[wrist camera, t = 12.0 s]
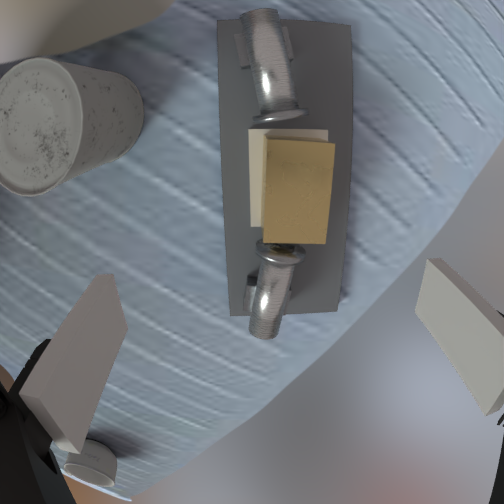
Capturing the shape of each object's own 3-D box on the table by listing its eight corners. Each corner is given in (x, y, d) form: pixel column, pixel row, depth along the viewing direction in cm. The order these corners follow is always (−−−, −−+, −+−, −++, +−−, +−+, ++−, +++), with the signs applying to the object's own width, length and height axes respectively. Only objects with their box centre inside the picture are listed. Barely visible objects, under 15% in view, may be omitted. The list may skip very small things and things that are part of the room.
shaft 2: (281, 312, 35) (287, 346, 29) (241, 307, 34) (241, 341, 29) (299, 236, 31) (310, 262, 26) (254, 229, 31) (256, 255, 25)
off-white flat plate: (250, 224, 30) (250, 226, 30) (248, 129, 27) (248, 129, 26) (323, 223, 30) (324, 225, 30) (326, 129, 27) (328, 130, 26)
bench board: (230, 309, 36) (230, 316, 35) (218, 23, 23) (217, 20, 22) (334, 305, 36) (337, 311, 35) (346, 28, 23) (350, 25, 22)
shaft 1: (232, 30, 23) (229, 11, 18) (281, 22, 22) (290, 2, 17) (252, 122, 26) (254, 124, 21) (301, 114, 26) (314, 115, 21)
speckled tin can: (74, 175, 29) (1, 212, 18) (53, 93, 25) (-27, 96, 14) (154, 147, 28) (100, 171, 17) (132, 57, 24) (69, 32, 13)
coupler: (263, 134, 26) (267, 139, 22) (320, 138, 26) (335, 143, 22) (260, 221, 30) (263, 242, 25) (313, 223, 30) (325, 244, 25)
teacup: (104, 434, 48) (94, 467, 41) (130, 461, 53) (123, 491, 45) (55, 430, 49) (43, 458, 42) (82, 456, 54) (73, 483, 46)
